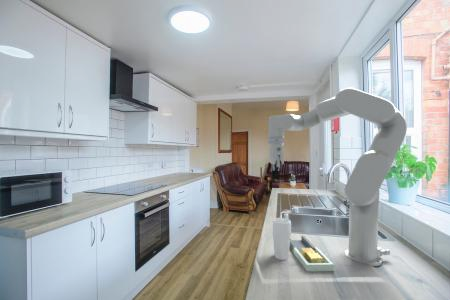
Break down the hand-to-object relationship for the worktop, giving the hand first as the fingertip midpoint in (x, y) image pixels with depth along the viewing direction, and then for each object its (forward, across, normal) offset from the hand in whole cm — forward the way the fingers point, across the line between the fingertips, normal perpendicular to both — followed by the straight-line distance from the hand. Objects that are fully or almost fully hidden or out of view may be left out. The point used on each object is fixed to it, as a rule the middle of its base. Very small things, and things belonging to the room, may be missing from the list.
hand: (275, 178), depth 112 cm
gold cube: (+27, -28, -6) cm, 39 cm away
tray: (+27, -29, -6) cm, 40 cm away
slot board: (+27, -17, -6) cm, 33 cm away
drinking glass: (+28, -26, +4) cm, 38 cm away
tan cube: (+27, -32, -6) cm, 42 cm away
